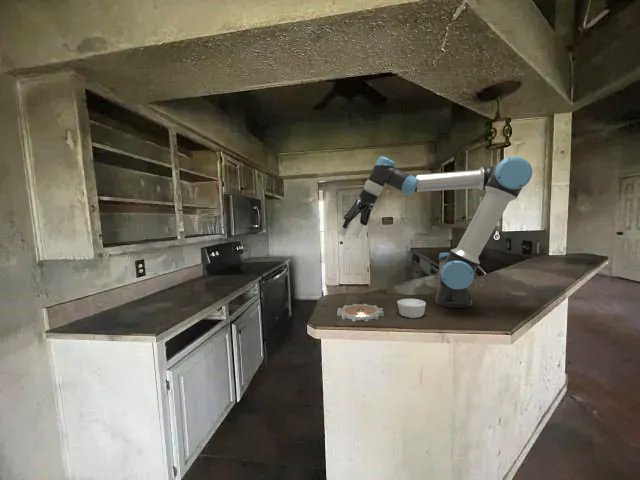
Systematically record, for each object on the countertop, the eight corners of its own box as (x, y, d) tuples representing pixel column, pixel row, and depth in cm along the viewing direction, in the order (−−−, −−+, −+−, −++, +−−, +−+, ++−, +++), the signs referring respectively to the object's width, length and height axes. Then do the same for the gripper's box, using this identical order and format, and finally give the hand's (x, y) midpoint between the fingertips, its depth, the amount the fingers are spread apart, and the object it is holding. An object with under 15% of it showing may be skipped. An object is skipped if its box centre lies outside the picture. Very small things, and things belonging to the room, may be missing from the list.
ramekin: (428, 319, 123) (427, 306, 122) (398, 319, 125) (398, 305, 124) (423, 310, 134) (423, 298, 133) (396, 310, 136) (396, 298, 135)
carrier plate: (375, 305, 143) (375, 301, 143) (390, 319, 124) (390, 315, 124) (333, 308, 141) (333, 305, 141) (342, 323, 122) (341, 319, 122)
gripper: (374, 193, 148) (353, 232, 153) (351, 183, 127) (328, 229, 132) (387, 200, 145) (366, 240, 150) (366, 191, 124) (342, 238, 128)
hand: (348, 235), depth 141 cm, fingers open, 13 cm apart
